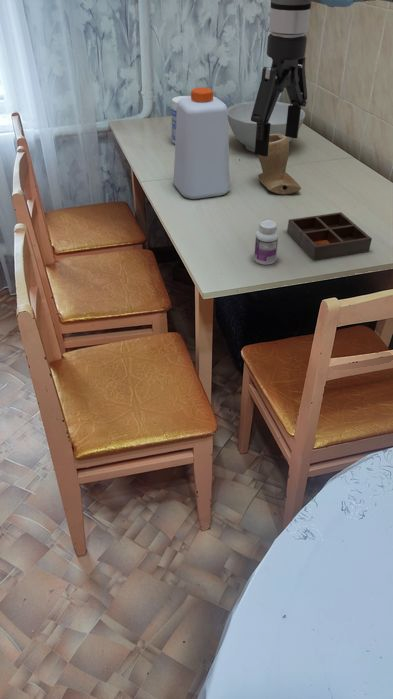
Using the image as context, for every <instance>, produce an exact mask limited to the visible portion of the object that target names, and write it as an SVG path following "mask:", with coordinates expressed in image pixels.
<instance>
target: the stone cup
mask: <svg viewBox="0 0 393 699" xmlns="http://www.w3.org/2000/svg"><path fill="white" fill-rule="evenodd" d="M289 155H290V141H288V138H287V137H286V136H284V135H282V134H270V136H269V147H268V156H266V157H265V156H261V155H257V158H258V162H259V163H260V166H261V167H260V168H261V171H262V172H261V173H259V174H258V180H259V182H260V183H261V184H262V185H263V186H264V187H265V188H266V189H267V190H269V191H270V192H271V193H275V194H279V195H289V194H293V193H297V192H299V191H301V190H302V187H301V185H300V184H299V183H298V182H297V181H296V180H295V179H294V177H293V176H291V175H290V174H289V173H288V172H286V171H287V164H288V161H289Z"/></svg>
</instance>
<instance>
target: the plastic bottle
mask: <svg viewBox="0 0 393 699" xmlns="http://www.w3.org/2000/svg"><path fill="white" fill-rule="evenodd" d="M190 96H191V97H188V98H182V99H180V100H179V101H178V103H177V118H176V140H175V144H174V164H173V184H174V186H175V188H176V189H177V190H178V191H179V193H180V194H181V195H182V196H183V197H185V199H190V200H198V199H199V200H200V199H205V198H212V197H219V196H223V195H225V194H228V192H229V191H230V186H231V185H230V154H229V152H230V150H229V122H228V111H227V109H228V106H227V104H225V103H224V102H223V101H222V100H221V99H220V98H218V97H216V96H214V90H213V89H212V88H209V87H196V88H195V87H194V88H193V89H191V91H190Z"/></svg>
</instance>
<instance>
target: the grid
mask: <svg viewBox="0 0 393 699" xmlns="http://www.w3.org/2000/svg"><path fill="white" fill-rule="evenodd" d="M286 232H287V235H289V236H290V237H291V238H292V239H293V240H294V241H295V243H297V244H298V245H299V246H300V248H301V249H302V250H303V251H304V252H305V253H306V254H307V256H309V258H311V259H312V260H313V261H319V260H323V259H330V258H331V259H332V258H337V257H343V256H349V255H355V254H359V253H361V254H362V253H366V252H370V248H371V243H372V237H371V236H370V235H369V234H367V233H366V232H365V231H364V230H363V229H361V227H360V226H358V225H357V224H356V223H354V222H353V221H352V220H351V219H350V218H349V217H348V216H347V215H345V214H344V213H343V212H341V211H339V212H333V213H325V214H318V215H312V216H304V217H297V218H291V219H288V222H287V231H286Z"/></svg>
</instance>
